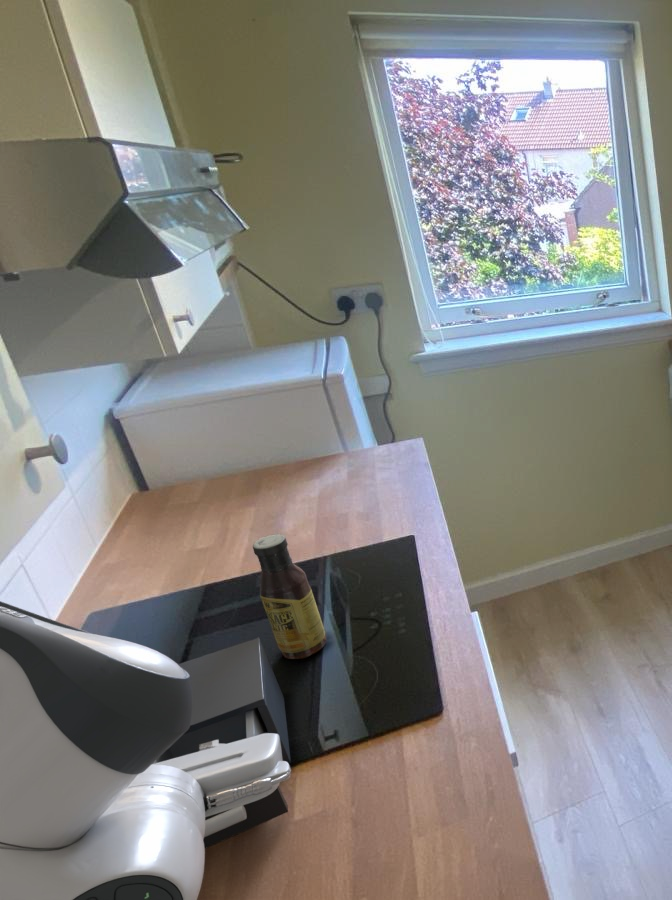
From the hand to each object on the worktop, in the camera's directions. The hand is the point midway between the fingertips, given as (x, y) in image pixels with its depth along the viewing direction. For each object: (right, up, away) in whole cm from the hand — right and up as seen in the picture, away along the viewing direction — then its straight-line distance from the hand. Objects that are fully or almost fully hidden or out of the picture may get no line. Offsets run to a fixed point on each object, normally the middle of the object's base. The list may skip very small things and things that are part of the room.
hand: (145, 767), depth 68 cm
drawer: (-7, -13, +19) cm, 24 cm away
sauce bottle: (-17, -2, +47) cm, 50 cm away
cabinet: (-14, -10, +28) cm, 33 cm away
